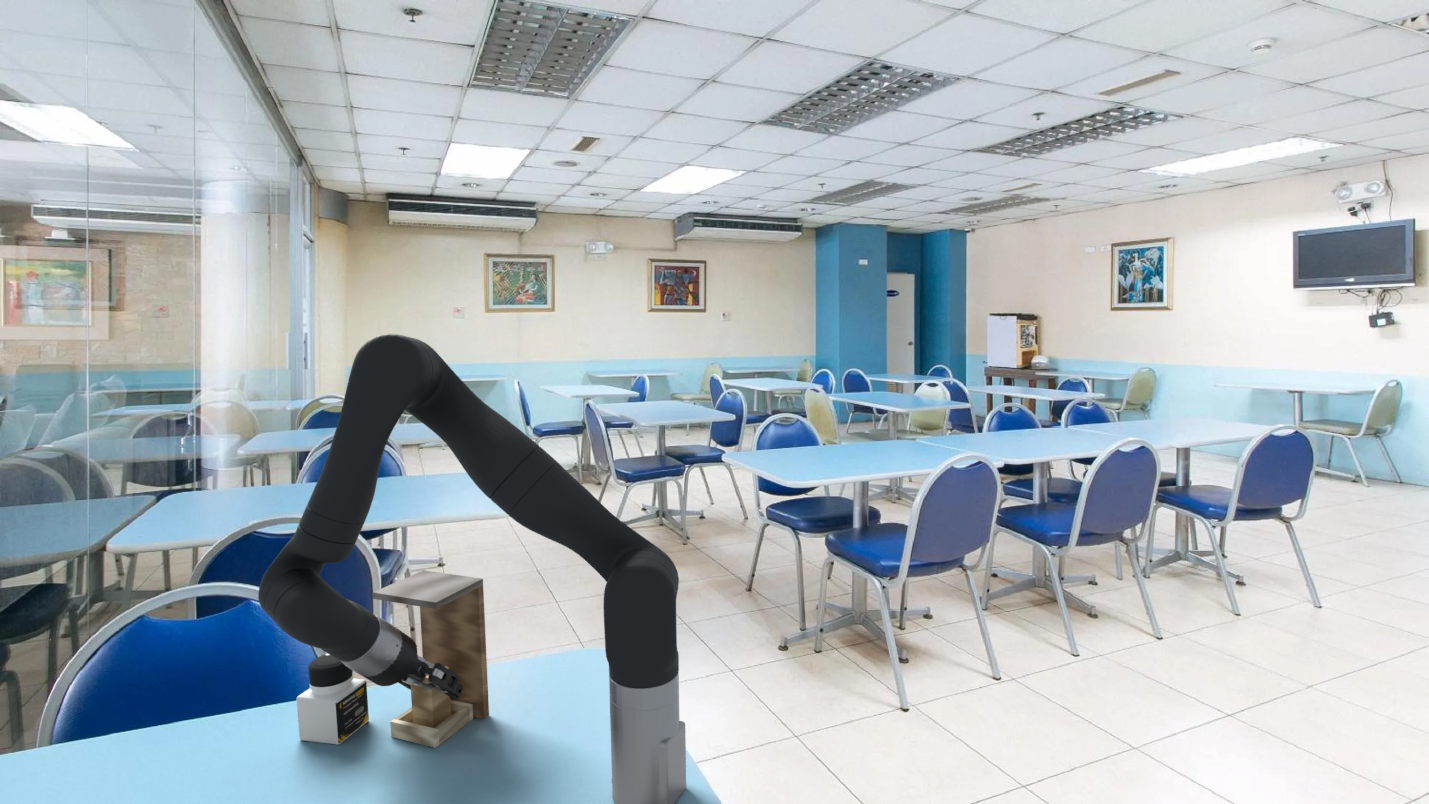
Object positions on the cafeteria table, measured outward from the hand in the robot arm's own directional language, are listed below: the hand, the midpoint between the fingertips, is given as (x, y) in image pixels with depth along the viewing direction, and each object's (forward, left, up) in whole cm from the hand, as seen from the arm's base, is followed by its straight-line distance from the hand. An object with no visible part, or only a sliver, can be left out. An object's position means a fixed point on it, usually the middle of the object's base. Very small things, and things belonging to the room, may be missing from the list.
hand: (437, 688), depth 118 cm
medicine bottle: (+14, +7, -6) cm, 17 cm away
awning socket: (0, +1, -6) cm, 6 cm away
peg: (0, +1, -6) cm, 6 cm away
